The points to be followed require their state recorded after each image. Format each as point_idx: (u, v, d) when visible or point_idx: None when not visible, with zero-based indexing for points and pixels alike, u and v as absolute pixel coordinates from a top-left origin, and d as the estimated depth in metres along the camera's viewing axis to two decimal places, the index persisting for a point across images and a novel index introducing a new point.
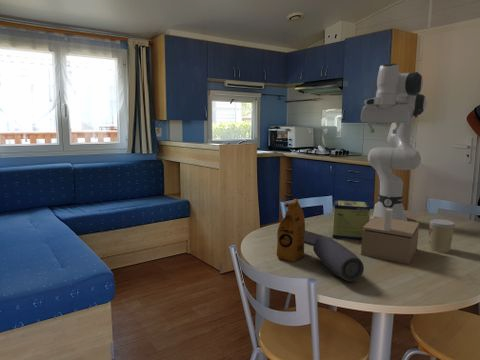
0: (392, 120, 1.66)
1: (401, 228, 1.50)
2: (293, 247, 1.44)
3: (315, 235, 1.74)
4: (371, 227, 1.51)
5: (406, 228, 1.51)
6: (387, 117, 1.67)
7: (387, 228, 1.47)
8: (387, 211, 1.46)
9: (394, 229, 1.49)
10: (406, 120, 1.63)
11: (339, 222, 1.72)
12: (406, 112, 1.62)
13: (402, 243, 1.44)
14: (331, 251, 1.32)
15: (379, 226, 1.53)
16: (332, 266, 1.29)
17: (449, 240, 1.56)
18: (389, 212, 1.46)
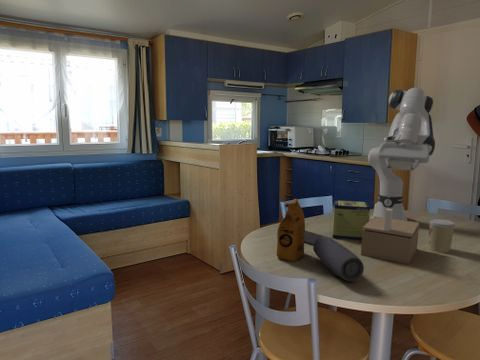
0: (411, 155, 1.59)
1: (401, 228, 1.50)
2: (293, 247, 1.44)
3: (315, 235, 1.74)
4: (371, 227, 1.51)
5: (406, 228, 1.51)
6: (406, 152, 1.61)
7: (387, 228, 1.47)
8: (387, 211, 1.46)
9: (394, 229, 1.49)
10: (426, 156, 1.56)
11: (339, 222, 1.72)
12: (427, 150, 1.58)
13: (402, 243, 1.44)
14: (331, 251, 1.32)
15: (379, 226, 1.53)
16: (332, 266, 1.29)
17: (449, 240, 1.56)
18: (389, 212, 1.46)
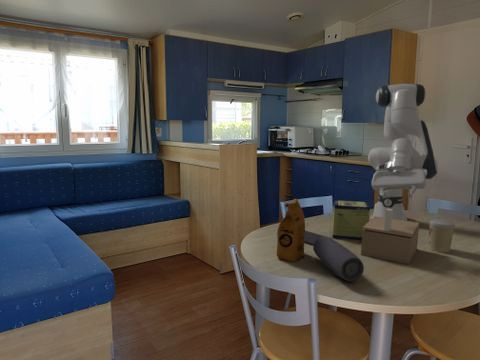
0: (407, 181, 1.50)
1: (401, 228, 1.50)
2: (293, 247, 1.44)
3: (315, 235, 1.74)
4: (371, 227, 1.51)
5: (406, 228, 1.51)
6: (401, 179, 1.52)
7: (387, 228, 1.47)
8: (387, 211, 1.46)
9: (394, 229, 1.49)
10: (423, 181, 1.47)
11: (339, 222, 1.72)
12: (422, 174, 1.49)
13: (402, 243, 1.44)
14: (331, 251, 1.32)
15: (379, 226, 1.53)
16: (332, 266, 1.29)
17: (449, 240, 1.56)
18: (389, 212, 1.46)
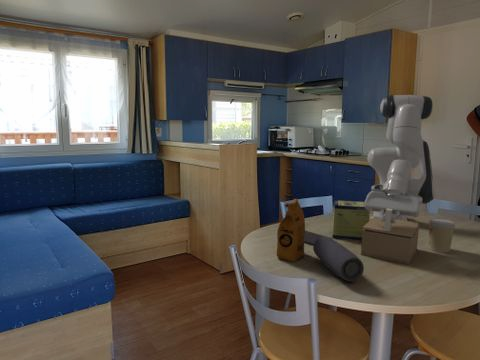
0: (400, 207, 1.47)
1: (401, 228, 1.50)
2: (293, 247, 1.44)
3: (315, 235, 1.74)
4: (371, 227, 1.51)
5: (406, 228, 1.51)
6: (395, 204, 1.49)
7: (387, 228, 1.47)
8: (387, 211, 1.46)
9: (394, 229, 1.49)
10: (416, 210, 1.44)
11: (339, 222, 1.72)
12: (417, 202, 1.46)
13: (402, 243, 1.44)
14: (331, 251, 1.32)
15: (379, 226, 1.53)
16: (332, 266, 1.29)
17: (449, 240, 1.56)
18: (389, 212, 1.46)
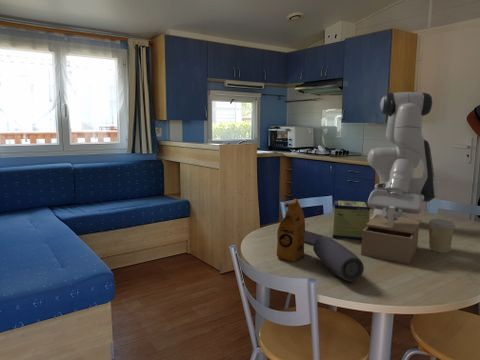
0: (403, 205, 1.52)
1: (403, 225, 1.55)
2: (293, 247, 1.44)
3: (315, 235, 1.74)
4: (374, 224, 1.56)
5: (408, 225, 1.55)
6: (397, 202, 1.53)
7: (390, 225, 1.51)
8: (390, 208, 1.51)
9: (396, 226, 1.53)
10: (418, 207, 1.49)
11: (339, 222, 1.72)
12: (419, 200, 1.50)
13: (402, 243, 1.44)
14: (331, 251, 1.32)
15: (382, 223, 1.57)
16: (332, 266, 1.29)
17: (449, 240, 1.56)
18: (392, 209, 1.50)
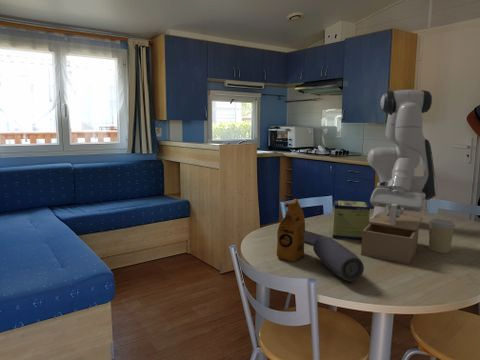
0: (405, 203, 1.55)
1: (405, 222, 1.59)
2: (293, 247, 1.44)
3: (315, 235, 1.74)
4: (377, 221, 1.60)
5: (410, 222, 1.59)
6: (399, 200, 1.57)
7: (392, 222, 1.55)
8: (392, 206, 1.55)
9: (399, 223, 1.57)
10: (420, 205, 1.53)
11: (339, 222, 1.72)
12: (420, 198, 1.54)
13: (402, 243, 1.44)
14: (331, 251, 1.32)
15: (384, 220, 1.61)
16: (332, 266, 1.29)
17: (449, 240, 1.56)
18: (394, 207, 1.54)
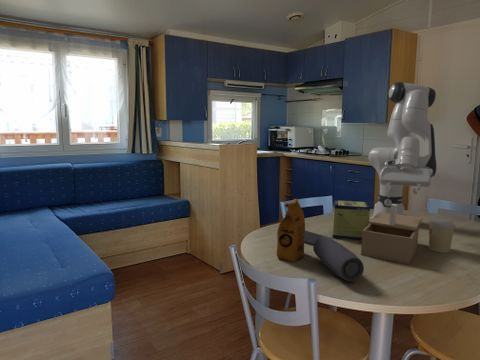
0: (413, 179, 1.60)
1: (405, 222, 1.59)
2: (293, 247, 1.44)
3: (315, 235, 1.74)
4: (377, 221, 1.60)
5: (410, 222, 1.59)
6: (408, 177, 1.62)
7: (392, 222, 1.55)
8: (392, 206, 1.55)
9: (399, 223, 1.57)
10: (428, 180, 1.58)
11: (339, 222, 1.72)
12: (428, 173, 1.59)
13: (402, 243, 1.44)
14: (331, 251, 1.32)
15: (384, 220, 1.61)
16: (332, 266, 1.29)
17: (449, 240, 1.56)
18: (394, 207, 1.54)
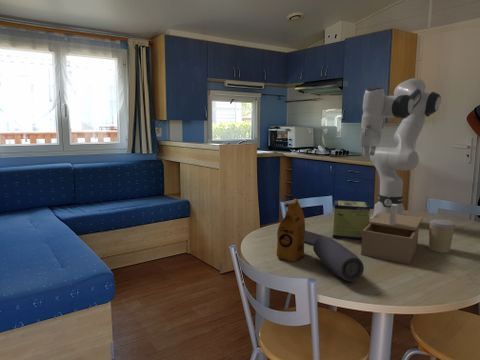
0: None
1: (405, 222, 1.59)
2: (293, 247, 1.44)
3: (315, 235, 1.74)
4: (377, 221, 1.60)
5: (410, 222, 1.59)
6: None
7: (392, 222, 1.55)
8: (392, 206, 1.55)
9: (399, 223, 1.57)
10: (361, 144, 1.63)
11: (339, 222, 1.72)
12: None
13: (402, 243, 1.44)
14: (331, 251, 1.32)
15: (384, 220, 1.61)
16: (332, 266, 1.29)
17: (449, 240, 1.56)
18: (394, 207, 1.54)
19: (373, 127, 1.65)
